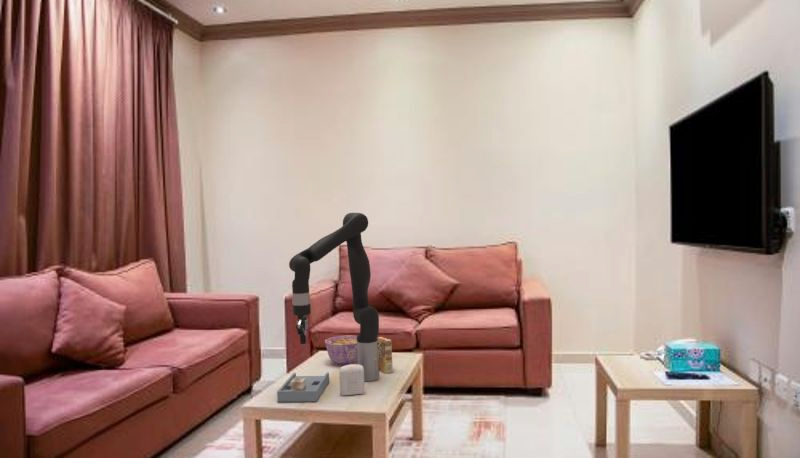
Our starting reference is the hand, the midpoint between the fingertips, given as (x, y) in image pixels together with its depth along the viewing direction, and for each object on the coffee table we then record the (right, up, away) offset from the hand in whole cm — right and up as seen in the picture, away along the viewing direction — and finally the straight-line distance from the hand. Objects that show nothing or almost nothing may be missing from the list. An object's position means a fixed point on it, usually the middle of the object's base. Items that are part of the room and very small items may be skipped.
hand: (303, 343), depth 249 cm
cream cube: (0, -18, -10) cm, 20 cm away
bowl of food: (+14, -18, +44) cm, 50 cm away
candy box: (+34, -19, +27) cm, 47 cm away
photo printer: (+21, -20, -5) cm, 30 cm away
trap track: (+1, -21, 0) cm, 21 cm away
